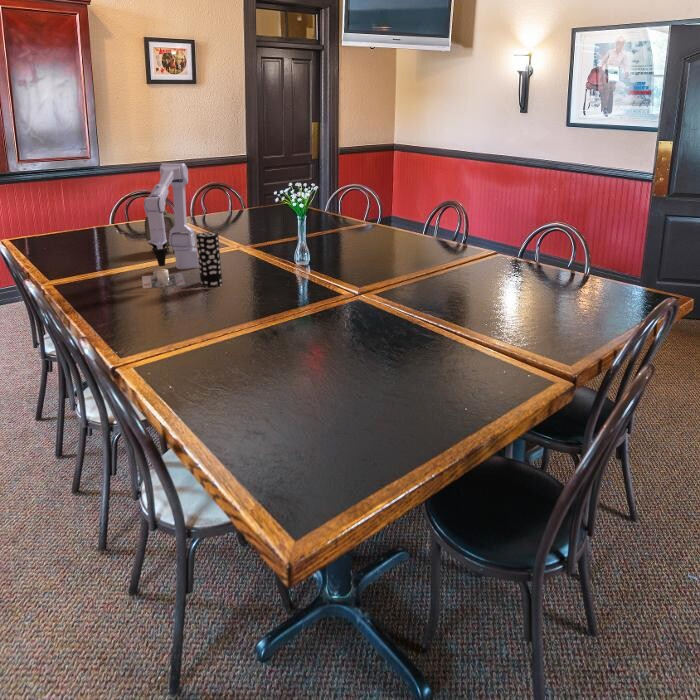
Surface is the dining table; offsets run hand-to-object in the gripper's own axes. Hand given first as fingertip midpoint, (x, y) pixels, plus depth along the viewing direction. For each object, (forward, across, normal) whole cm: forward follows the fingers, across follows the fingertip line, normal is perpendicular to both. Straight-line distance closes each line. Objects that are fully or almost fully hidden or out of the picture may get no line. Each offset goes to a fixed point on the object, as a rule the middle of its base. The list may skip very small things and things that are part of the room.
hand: (161, 263), depth 256 cm
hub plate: (+9, -4, 0) cm, 10 cm away
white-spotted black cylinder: (+9, +6, +18) cm, 21 cm away
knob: (+8, 0, 0) cm, 8 cm away
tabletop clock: (+9, -58, +4) cm, 59 cm away
